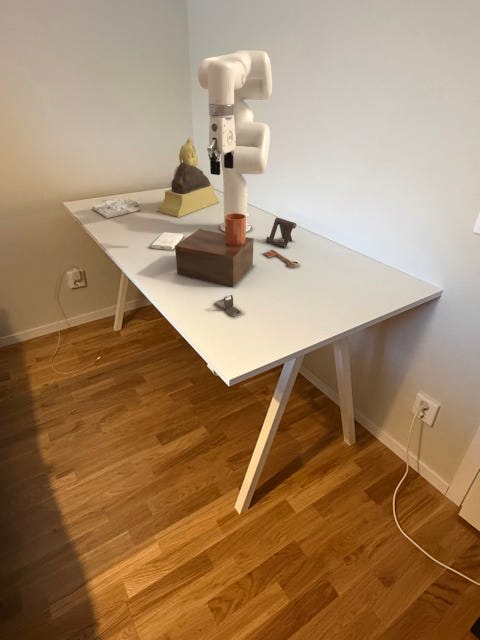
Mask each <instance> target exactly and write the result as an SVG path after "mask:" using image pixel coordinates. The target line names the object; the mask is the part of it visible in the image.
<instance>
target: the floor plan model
mask: <svg viewBox="0 0 480 640" xmlns="http://www.w3.org/2000/svg"><path fill="white" fill-rule="evenodd" d="M137 206H138V201H136V200H134V199H132V198H130V197H129V198H128V200H127V199H122V198H116V199H111V200H106V201H103V203H99V204H93V205H92V210H94V211H95V212H97V213H99V214H100V215H102V216H103V217H105V218H107V219H109V218H115V217H119V216H122V215H127V214H130V213H134V212H139V211H140V210H139V209H140V208H139V207H137Z"/></svg>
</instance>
